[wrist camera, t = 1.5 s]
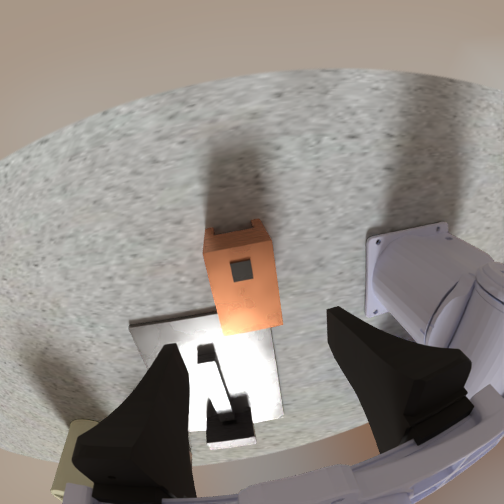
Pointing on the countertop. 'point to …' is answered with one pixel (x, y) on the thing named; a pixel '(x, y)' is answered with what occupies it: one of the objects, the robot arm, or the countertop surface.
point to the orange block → (243, 279)
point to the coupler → (219, 375)
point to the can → (66, 467)
